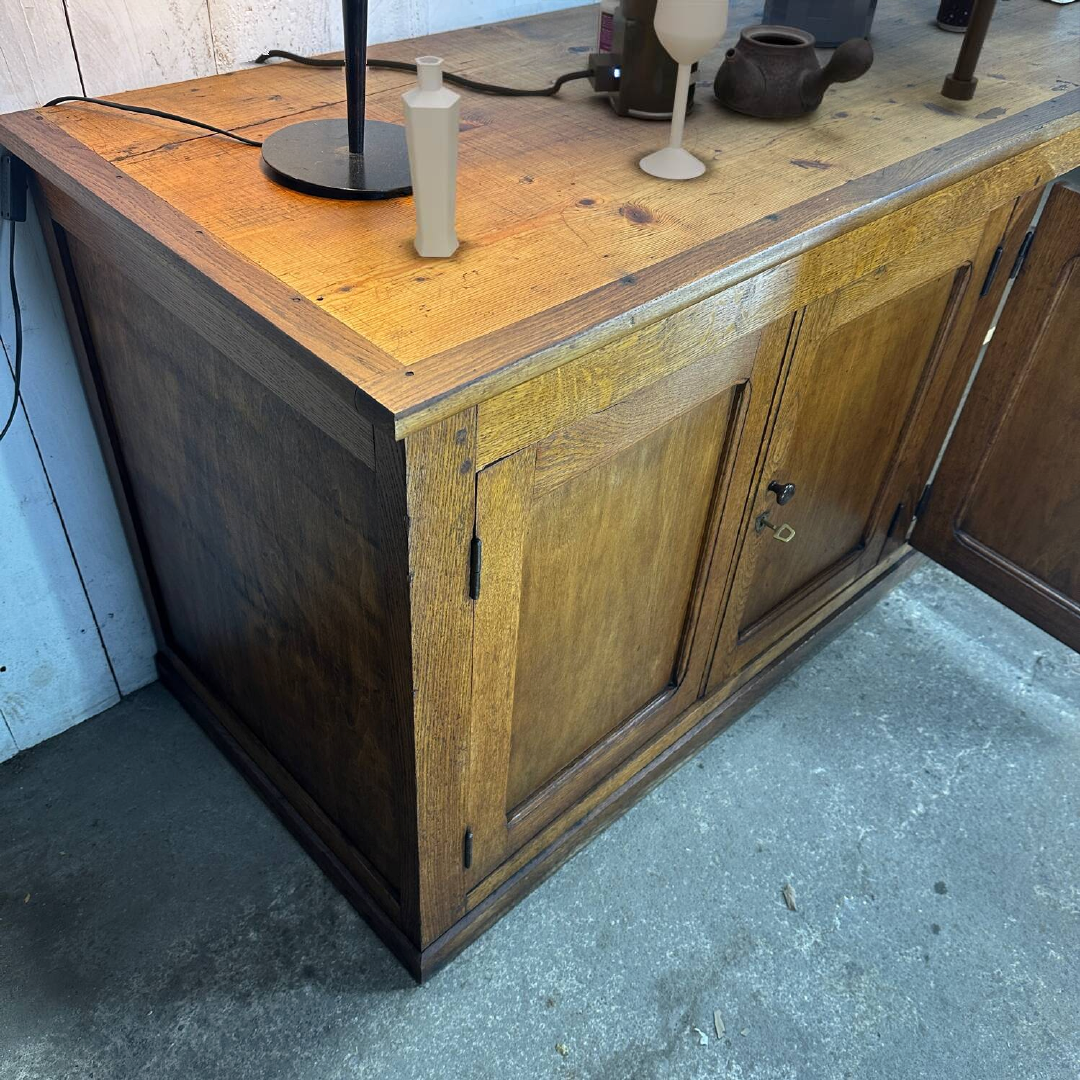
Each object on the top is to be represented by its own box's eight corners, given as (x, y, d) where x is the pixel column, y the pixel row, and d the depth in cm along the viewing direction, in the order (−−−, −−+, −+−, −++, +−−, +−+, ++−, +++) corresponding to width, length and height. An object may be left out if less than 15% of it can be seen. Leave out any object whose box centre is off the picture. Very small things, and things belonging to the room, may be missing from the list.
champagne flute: (625, 165, 99) (652, -119, 83) (665, 148, 103) (698, -127, 87) (680, 185, 96) (719, -107, 80) (718, 166, 100) (763, -116, 83)
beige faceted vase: (463, 235, 86) (460, 51, 76) (462, 259, 83) (459, 69, 73) (410, 235, 86) (400, 49, 76) (407, 258, 82) (396, 67, 72)
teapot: (672, 109, 112) (684, 12, 105) (752, 81, 120) (768, -11, 113) (813, 159, 102) (836, 56, 95) (890, 125, 110) (916, 28, 104)
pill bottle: (645, 72, 121) (654, -16, 114) (606, 76, 119) (613, -13, 113) (626, 59, 125) (634, -27, 118) (588, 62, 123) (594, -25, 116)
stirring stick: (949, 101, 113) (995, -49, 103) (935, 90, 116) (978, -56, 106) (978, 100, 113) (1026, -48, 103) (963, 90, 116) (1009, -56, 106)
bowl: (781, 49, 130) (791, -6, 126) (747, 18, 141) (755, -34, 136) (884, 48, 132) (898, -6, 128) (843, 17, 143) (854, -34, 138)
